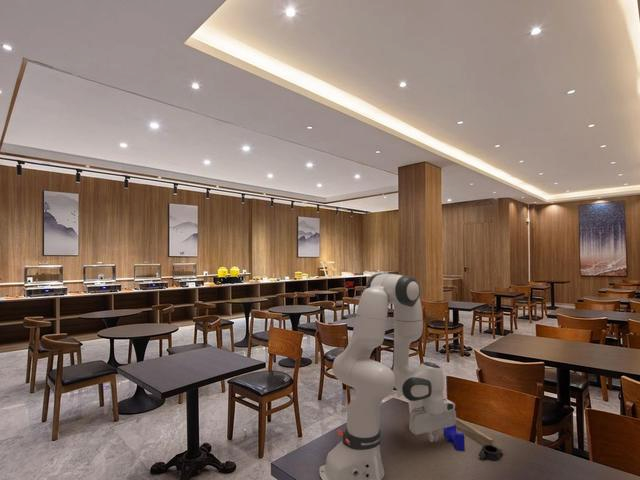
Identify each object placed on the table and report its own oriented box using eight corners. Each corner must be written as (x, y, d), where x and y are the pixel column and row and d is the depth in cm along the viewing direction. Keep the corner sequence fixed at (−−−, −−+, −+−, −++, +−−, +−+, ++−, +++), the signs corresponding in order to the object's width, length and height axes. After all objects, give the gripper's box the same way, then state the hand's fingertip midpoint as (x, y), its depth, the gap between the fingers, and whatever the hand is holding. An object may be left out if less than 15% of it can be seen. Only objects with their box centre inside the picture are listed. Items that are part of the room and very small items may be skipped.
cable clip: (443, 434, 147) (443, 420, 148) (454, 435, 147) (454, 420, 147) (452, 451, 135) (452, 435, 136) (464, 451, 135) (464, 435, 135)
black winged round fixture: (509, 464, 127) (509, 456, 127) (479, 461, 128) (479, 453, 129) (502, 452, 134) (501, 444, 134) (474, 450, 136) (473, 442, 136)
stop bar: (481, 453, 133) (481, 442, 133) (439, 425, 155) (439, 415, 155) (493, 450, 135) (493, 439, 136) (450, 422, 157) (450, 413, 157)
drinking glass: (407, 430, 150) (406, 395, 151) (411, 424, 156) (411, 389, 157) (423, 435, 147) (422, 398, 147) (427, 428, 153) (426, 392, 153)
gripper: (415, 412, 133) (416, 450, 132) (458, 403, 140) (459, 439, 140) (405, 406, 139) (406, 442, 138) (447, 397, 146) (448, 431, 146)
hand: (433, 440), depth 139 cm, fingers closed
